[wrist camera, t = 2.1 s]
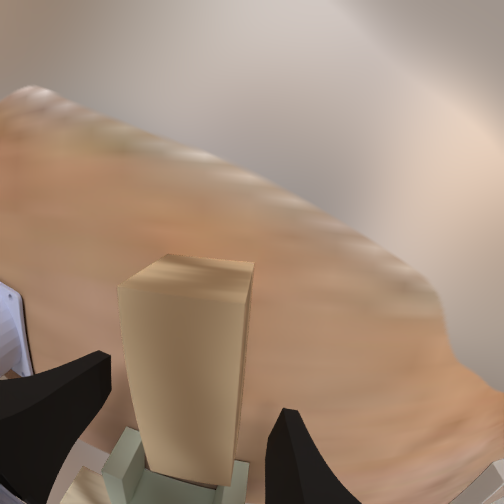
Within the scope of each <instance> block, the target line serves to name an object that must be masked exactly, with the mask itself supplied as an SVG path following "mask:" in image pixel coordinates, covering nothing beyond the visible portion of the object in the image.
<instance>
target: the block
mask: <svg viewBox="0 0 504 504" xmlns="http://www.w3.org/2000/svg"><path fill="white" fill-rule="evenodd" d="M248 471H249V463H247V462H242V461H237V460H234V467H233V474H232V480H231V487H228V486H220V485H218V486H217V489H216V490H213V489H209V488H204V487H200V486H196V485H193V484H189V483H185V482H182V481H179V480H175V479H172V478H169V477H166V476H163V475H160V474H157V473H154V472H151V471H149V470H146V469H145V450H144V447H143V443H142V440H141V436H140V432H139V431H136V430H134V429H131V428H129V427H127V426H126V428H125V430H124V431H123V433H122V435H121V437H120V438H119V440H118V442H117V443H116V445H115V447H114V449H113V450H112V452H111V454H110V456H109V458H108V459H107V461H106V463H105V464H104V466H103V468H102V470H101V472H102V476H103V479H104V482H105V486H106V489H107V492H108V495H109V498H110V501H111V504H245V499H246V490H247V480H248Z"/></svg>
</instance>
